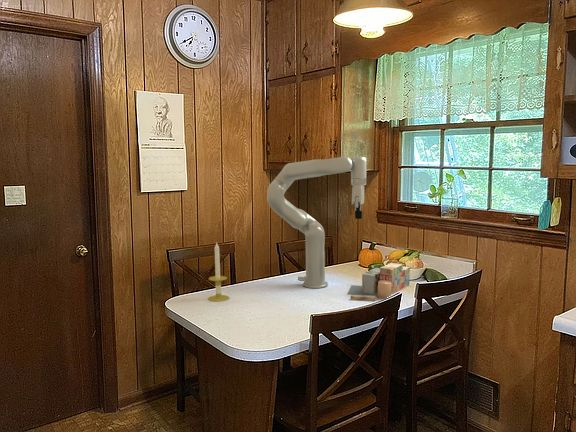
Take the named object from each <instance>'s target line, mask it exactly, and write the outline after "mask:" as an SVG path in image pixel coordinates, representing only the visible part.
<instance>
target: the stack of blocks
mask: <svg viewBox="0 0 576 432" xmlns="http://www.w3.org/2000/svg"><path fill="white" fill-rule="evenodd" d="M410 272H411V267H410V266H404V265H403V264H401V263H394V262H390V263H388V264H386V265H383V266H380V280H387V281H390V282H391V295H393V294H394V293H397V292H399V291H400V290H403V289H404V288H406V287H408V286H409V285H410V275H411V273H410Z"/></svg>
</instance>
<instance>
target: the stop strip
mask: <svg viewBox="0 0 576 432" xmlns="http://www.w3.org/2000/svg"><path fill="white" fill-rule="evenodd" d="M350 301H364V302H365V301H369V302H376V296H368V295H350Z"/></svg>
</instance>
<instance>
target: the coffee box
mask: <svg viewBox="0 0 576 432" xmlns="http://www.w3.org/2000/svg"><path fill="white" fill-rule="evenodd" d="M361 278H362V279H361V286H362V293H368V294H375V293H377V291H378V281H380V268H379V267H375V268H372V269H370V270H368V271H366V272H364V273H362V275H361Z"/></svg>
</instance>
